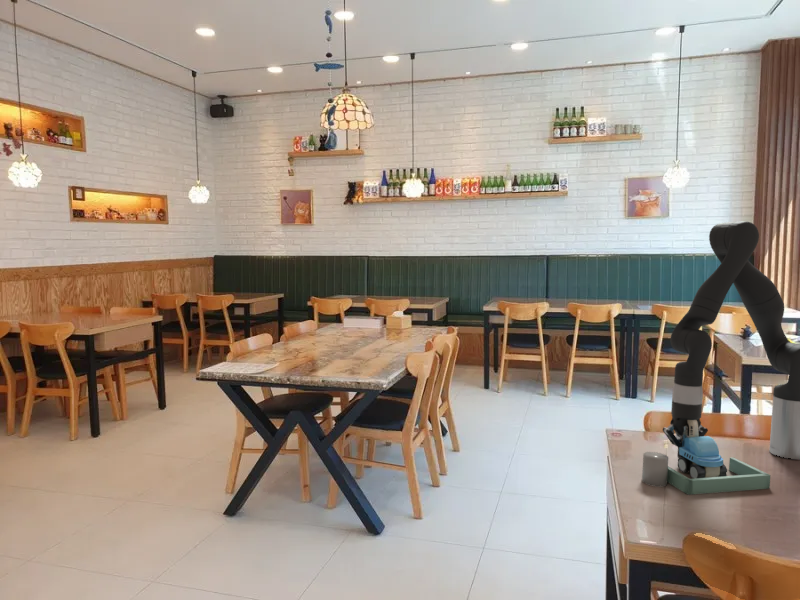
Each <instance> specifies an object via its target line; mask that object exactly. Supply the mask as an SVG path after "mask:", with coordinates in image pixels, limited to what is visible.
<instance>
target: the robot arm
mask: <svg viewBox="0 0 800 600" xmlns="http://www.w3.org/2000/svg"><path fill="white" fill-rule="evenodd" d="M708 238H709V239H708V240H709V241H708V242H709V244H710V245H709V246H710V248H711V249H712V251H713V254H714V255H715V256H716V258H717V259H718V261H719V262H720V264H719V265H718V267H717V268H716V270H715V271H713V272H712V273H711V275H709V277H708V278H706V280H705V281H704V282H703V283H702V284H701V285H700V287H699V288H698V289H697V291H696V293H695V296H694V297H693V300H692V302H691V305H690V306H689V309H688V311H687V312H686V313H685V314H684V316H682V318H681V319H680V321H679V322H678V323H677V324H676V325H675V327H674V328H673V330H672V332H671V334H670V335H671V336H670V345H671V347H672V348H673V350H675V351H676V352H679V353H684V354H688V357H687V360H686V361H685V360H684V361H678V362H677V363H676V364H675V367H674V377H673V379H674V380H673V387H672V396H671V397H672V399H671V413H670V414H671V417H672V418H671V420H670V424H669V425H668V426H667V427H666V426H664V427H662V432H663V433H664V434H665V436H666V438H667V439H668V440H669V442H670V443H671V444H672V445H673V446H675V447H677V459H678V458H680V457H683V456H681V455H680V454H679V448H680V447H684V442H685V438H687V437H689V425H688V423H687V420H697V423H698V434H699V437H701V436H705V435H706V434H707V433H708V432H709V429H708V428H706V427H705V426H703V425H702V422H701V418H702V412H703V410H702V409H703V398H704V396H703V395H704V394H703V393H704V392H703V381H704V380H703V377H704V370H705V367H706V365H707V362H708V359H709V357H710V354H711V351H712V347H713V345H712V344H713V343H712V342H713V341H712V338H711V336H710V334H709V333H708V332H706V331H705V330H703V329H700V328H701V327H703V326H709V325H712V324H714V322H715V321H716V319H717V317H718V315H719V312H720V310H721V308H722V305H723V303H724V301H725V299H726V297H727V294H728V293H729V291H730V289H731V287H732V286H733V285H734V288H735V289H736V290H737V293H738V295H739V297H740V299H741V302H742V303H743V306H744V308H745V309H746V311H747V313H748V316H749V317H750V318H751V320H752V323H753V325H754V327H755V329H756V331H757V333H758V335H759V337H760V340H761V342H762V346H763V348H764V351H765V354H766V356H767V359H768V361H769V363H770V365H771V366H772V368H773V369H774V370H776V371H777V372H780V373H783V374H786V375H788V378H787V379H788V380H787V382H786V383H784V384H783V383H782V384H778V385H775V386H774V388H773V394H772V408H771V409H772V410H771V411H772V412H771V420H770V421H771V423H770V436H769V437H770V439H769V450H768V451H769V453H771V454H772V455H773V456H776V455H777V456H776V457H779V456H780V457H779V458H783V457H784V458H785V459H788V458H791V459H790V460H800V343H794V342H791V341H790V340H789V339H788V337H787V335H786V333H785V332H784V329H783V327H782V321H783V318H784V313H785V303H784V300H783V298H782V295H781V294H780V292H779V290H778V288H777V286H776V284H775V283H774V282H773V281H772V280H771V279H770V278H769V277H768V276H767V275H766V274H764V273H763V272H761V270H760V269H758V268H757V267H755V265H753V263H751V262H750V261H749V259H750V258H751V256H752V255H753V253H754V251H755V249H756V248H757V245H758V243H759V240H760V233H759V229H758V227H757V226H756V225H755V224H754V223H753V222H750V221H745V220H743V221H730V222H727V221H726V222H721V223H720V222H719V223H716V224H715V225H714V226H712V228H711V229H710V231H709V235H708ZM784 458H783V459H784Z"/></svg>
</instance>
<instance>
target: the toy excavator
mask: <svg viewBox="0 0 800 600" xmlns="http://www.w3.org/2000/svg"><path fill="white" fill-rule="evenodd" d="M687 423H688V425H689V437H687V438H685V442H684V447H680V448H679V454H680V455H681V456H683V457H680V458H678V457H677V468H678V470H679V471H680V473H689V475H690V477H691V479H695V478H709V477H723V476H728V475H727V473H728V468H727V466H726V465H725V463H724V458H723V457H722V456H721V454H720V450H719V446H718V444H717V442H716V440H714V438H713V437H711V436H709V435H706V436H705V435H704V436H701V437H699V434H698V423H697V420H687Z"/></svg>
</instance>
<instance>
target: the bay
mask: <svg viewBox="0 0 800 600" xmlns="http://www.w3.org/2000/svg"><path fill="white" fill-rule="evenodd" d="M728 464H729V465H728V471H730V472H732V473H734V474H736V475H727V476H723V477H709V478H695V479H693V478H689V477H687V476H685V475H684V474H682V472H679V471H677V470H676V469H673V468H672V467H670V466H669V465H668V474H667V484H668V483H669V484H670V485H671V486H674V487H675V488H676V489H677V490H679V491H681V492H683V493H684V494H686V495H687V496H688V495H689V496H690V495H699V494H701V495H702V494H715V493H717V494H718V493H728V492H739V491H742V492H743V491H753V490H765V489H766V490H767V489H770V488H771V474H769V473H767V472H766V471H762V470H761V469H758V468H756V467H755V466H753V465H750V464H748V463H746V462H744V461H742V460H740V459H737V458H735V457H729V463H728Z"/></svg>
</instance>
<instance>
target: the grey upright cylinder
mask: <svg viewBox="0 0 800 600" xmlns="http://www.w3.org/2000/svg"><path fill="white" fill-rule="evenodd" d="M642 456H643V457H642V473H641V481H642V482H643V483H644V484H645V483H646V484H645V485H648V486H653V487H659V488H660V487H665V486H667V484H668V482H667V474H668V466H669V456H668V455H666V454H664V453H661V452H658V451H657V452H656V451H646V452H645V451H644V452H643V453H642Z"/></svg>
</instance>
